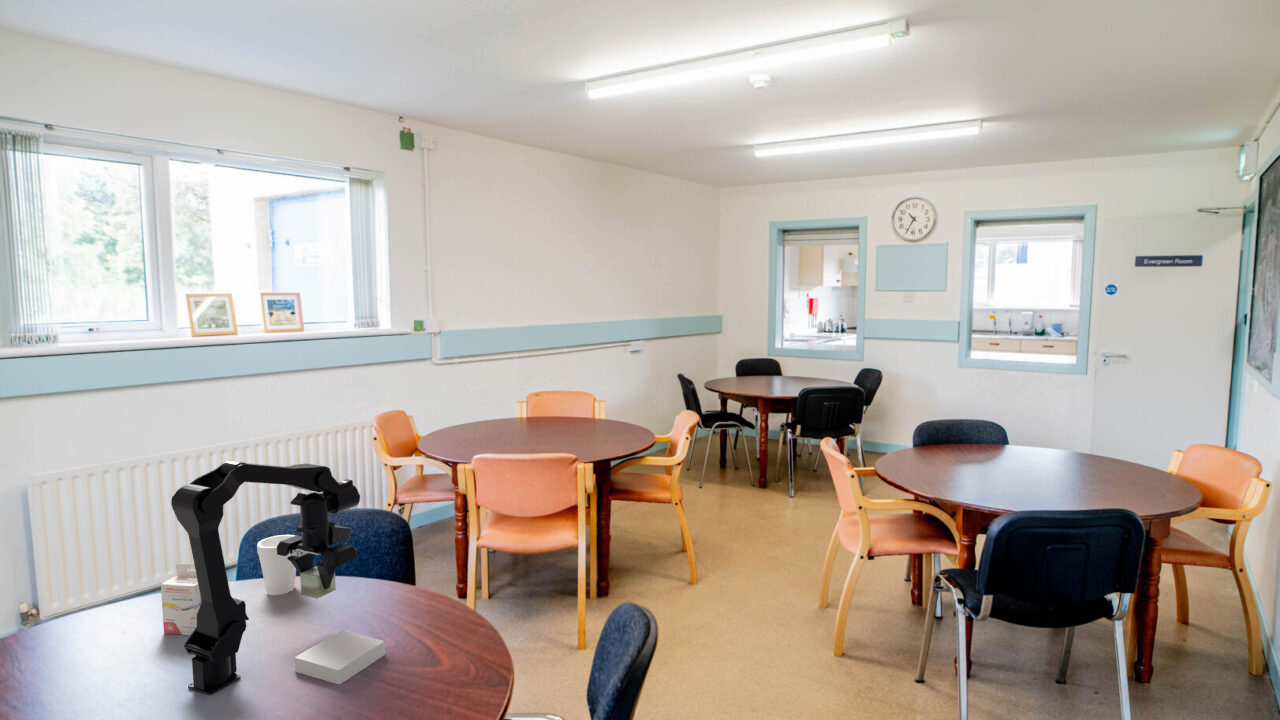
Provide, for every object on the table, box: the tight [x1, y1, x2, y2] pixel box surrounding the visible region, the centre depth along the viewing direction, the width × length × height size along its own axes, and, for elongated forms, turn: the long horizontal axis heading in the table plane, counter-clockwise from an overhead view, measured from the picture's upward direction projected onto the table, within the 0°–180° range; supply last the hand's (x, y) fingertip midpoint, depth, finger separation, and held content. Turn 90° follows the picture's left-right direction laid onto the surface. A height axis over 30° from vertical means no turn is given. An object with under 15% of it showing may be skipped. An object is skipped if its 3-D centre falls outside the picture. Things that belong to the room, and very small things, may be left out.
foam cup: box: [256, 534, 297, 596], centre depth 172 cm, size 10×9×13 cm
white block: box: [293, 629, 386, 685], centre depth 138 cm, size 12×12×3 cm
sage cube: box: [299, 565, 337, 599], centre depth 152 cm, size 5×5×5 cm
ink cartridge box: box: [160, 562, 201, 636], centre depth 151 cm, size 9×5×15 cm, turn 84°
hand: (318, 586), depth 152 cm, fingers closed on sage cube, 5 cm apart
